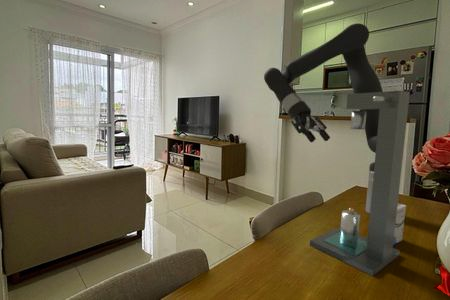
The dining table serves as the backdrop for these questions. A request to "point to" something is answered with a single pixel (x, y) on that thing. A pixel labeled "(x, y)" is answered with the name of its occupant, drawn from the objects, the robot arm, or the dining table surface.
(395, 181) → the press
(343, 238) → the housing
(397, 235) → the ink box
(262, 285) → the dining table surface
